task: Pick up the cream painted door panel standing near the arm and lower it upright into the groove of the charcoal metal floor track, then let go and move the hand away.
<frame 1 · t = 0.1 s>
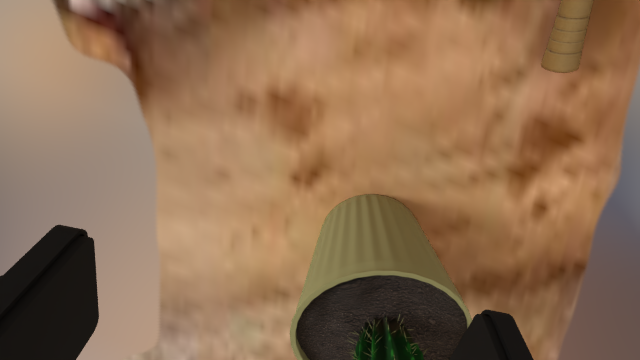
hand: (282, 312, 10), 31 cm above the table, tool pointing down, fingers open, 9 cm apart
potted cactus: (368, 233, 47), on the table
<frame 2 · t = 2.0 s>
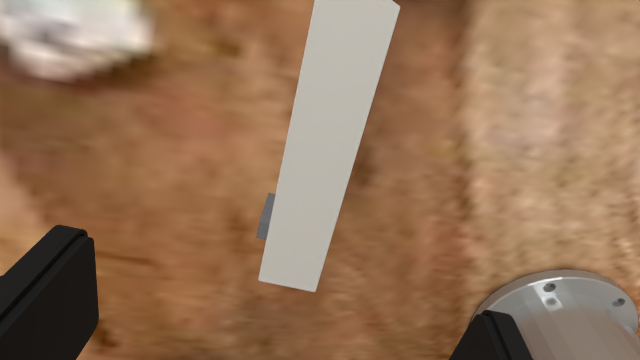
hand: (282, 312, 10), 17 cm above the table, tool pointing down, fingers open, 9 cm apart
door panel: (324, 104, 25), on the table
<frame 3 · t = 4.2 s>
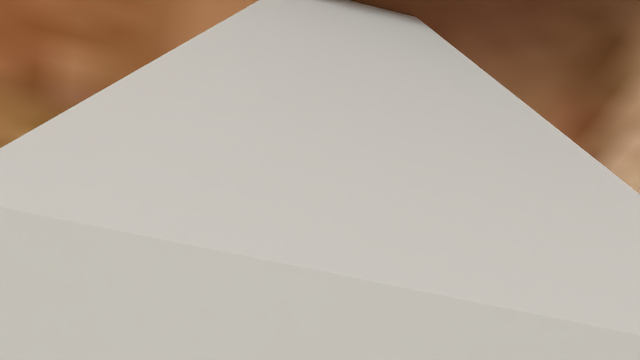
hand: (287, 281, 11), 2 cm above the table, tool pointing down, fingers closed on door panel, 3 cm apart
door panel: (293, 242, 12), on the table, touching gripper
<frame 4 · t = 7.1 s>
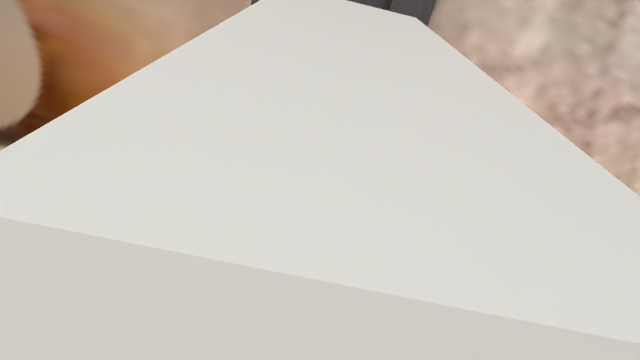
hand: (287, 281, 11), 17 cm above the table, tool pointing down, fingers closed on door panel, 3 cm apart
door panel: (293, 243, 12), point 16 cm above the table, touching gripper
floor track: (322, 82, 26), on the table
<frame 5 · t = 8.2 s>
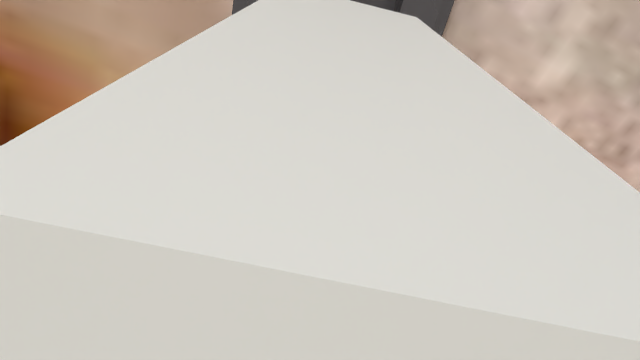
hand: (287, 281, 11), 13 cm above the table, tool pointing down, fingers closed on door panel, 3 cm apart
door panel: (293, 243, 12), point 12 cm above the table, touching gripper
floor track: (315, 117, 23), on the table
when the fingers open (4 cm above the table, at t = 10.0 s): door panel stays where it is, resting on floor track.
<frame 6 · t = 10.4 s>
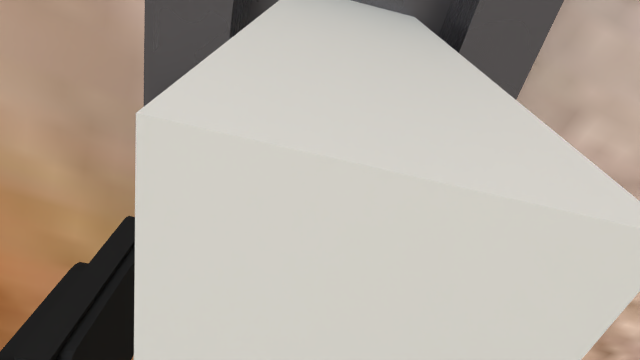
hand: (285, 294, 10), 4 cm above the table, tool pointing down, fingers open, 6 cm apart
door panel: (298, 226, 13), point 1 cm above the table, touching floor track
floor track: (298, 206, 14), on the table
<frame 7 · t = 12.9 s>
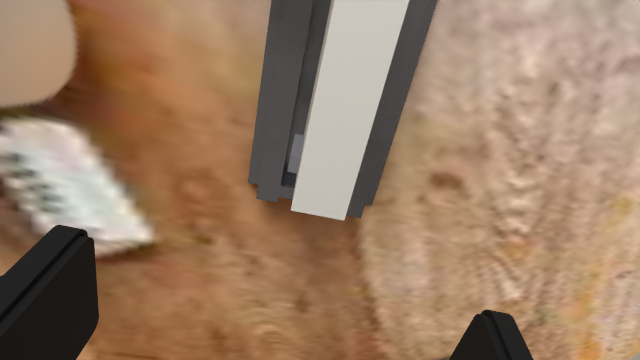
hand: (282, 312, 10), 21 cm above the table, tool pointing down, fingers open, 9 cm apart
door panel: (344, 50, 27), point 1 cm above the table, touching floor track
floor track: (342, 45, 27), on the table
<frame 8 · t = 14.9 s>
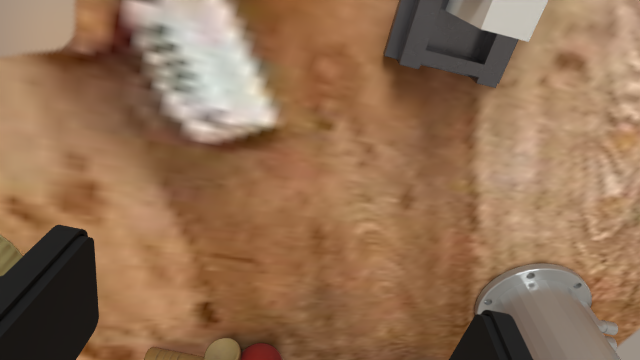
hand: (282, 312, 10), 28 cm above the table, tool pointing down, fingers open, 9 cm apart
kendama: (219, 348, 54), on the table
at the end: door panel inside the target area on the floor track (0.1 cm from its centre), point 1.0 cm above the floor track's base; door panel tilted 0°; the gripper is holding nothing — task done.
